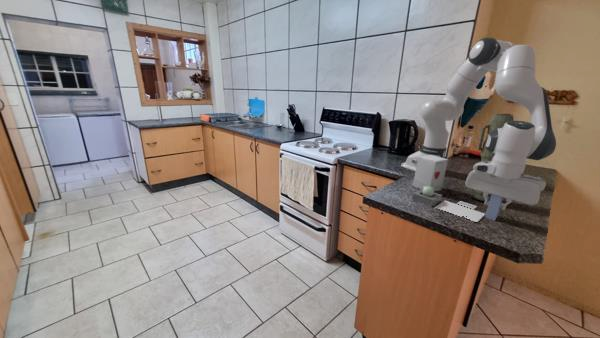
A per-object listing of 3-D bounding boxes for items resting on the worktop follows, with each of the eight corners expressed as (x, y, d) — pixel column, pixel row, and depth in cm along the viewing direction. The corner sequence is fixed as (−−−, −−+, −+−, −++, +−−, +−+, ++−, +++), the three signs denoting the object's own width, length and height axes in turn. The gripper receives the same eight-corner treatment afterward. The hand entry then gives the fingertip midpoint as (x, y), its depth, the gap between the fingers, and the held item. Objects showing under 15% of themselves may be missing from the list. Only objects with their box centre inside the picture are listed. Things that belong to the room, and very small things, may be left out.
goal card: (456, 204, 98) (456, 203, 98) (460, 201, 100) (460, 200, 100) (473, 209, 94) (473, 208, 93) (476, 206, 96) (477, 206, 96)
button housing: (412, 199, 101) (413, 193, 100) (421, 195, 106) (422, 188, 105) (431, 207, 95) (433, 200, 94) (440, 201, 100) (441, 195, 99)
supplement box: (429, 193, 107) (436, 161, 103) (412, 186, 115) (417, 156, 110) (441, 190, 111) (449, 159, 107) (424, 183, 119) (430, 154, 114)
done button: (420, 195, 100) (421, 187, 99) (424, 193, 102) (426, 185, 101) (430, 198, 97) (431, 190, 96) (434, 196, 99) (436, 188, 98)
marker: (484, 217, 88) (492, 192, 85) (487, 214, 90) (494, 190, 87) (494, 220, 86) (502, 195, 83) (496, 218, 88) (505, 193, 85)
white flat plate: (434, 208, 94) (434, 207, 94) (444, 201, 100) (445, 200, 100) (476, 223, 84) (476, 222, 84) (485, 214, 90) (485, 213, 90)
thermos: (507, 204, 96) (528, 114, 90) (473, 199, 99) (491, 112, 93) (496, 198, 104) (515, 115, 98) (465, 194, 108) (481, 114, 101)
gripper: (549, 176, 76) (534, 215, 81) (474, 161, 91) (465, 194, 96) (546, 181, 73) (531, 221, 77) (468, 164, 87) (459, 198, 92)
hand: (494, 206), depth 87 cm, fingers closed on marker, 3 cm apart
